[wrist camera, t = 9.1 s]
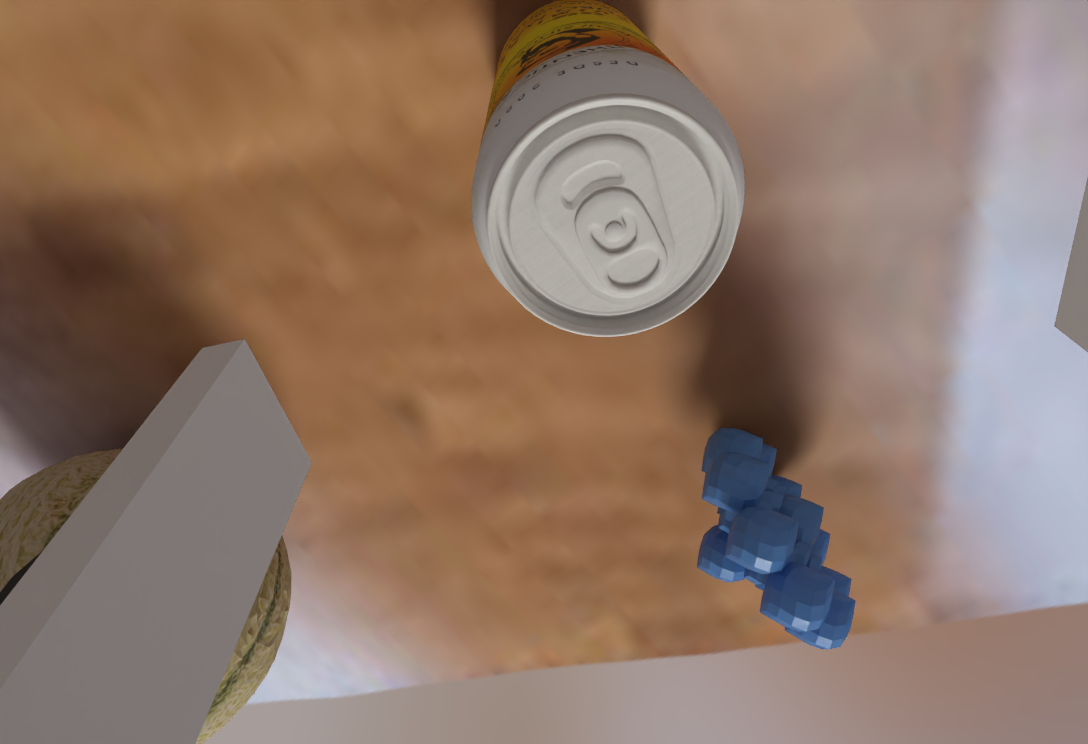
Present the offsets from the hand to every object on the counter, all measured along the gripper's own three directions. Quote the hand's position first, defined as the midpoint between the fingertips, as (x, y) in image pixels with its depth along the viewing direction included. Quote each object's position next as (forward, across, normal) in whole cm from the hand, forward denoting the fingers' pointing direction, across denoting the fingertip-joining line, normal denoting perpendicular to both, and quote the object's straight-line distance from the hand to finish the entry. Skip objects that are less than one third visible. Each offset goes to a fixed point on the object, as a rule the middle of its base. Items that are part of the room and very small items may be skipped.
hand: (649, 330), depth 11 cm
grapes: (+19, +4, -21) cm, 29 cm away
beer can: (+19, 0, 0) cm, 19 cm away
